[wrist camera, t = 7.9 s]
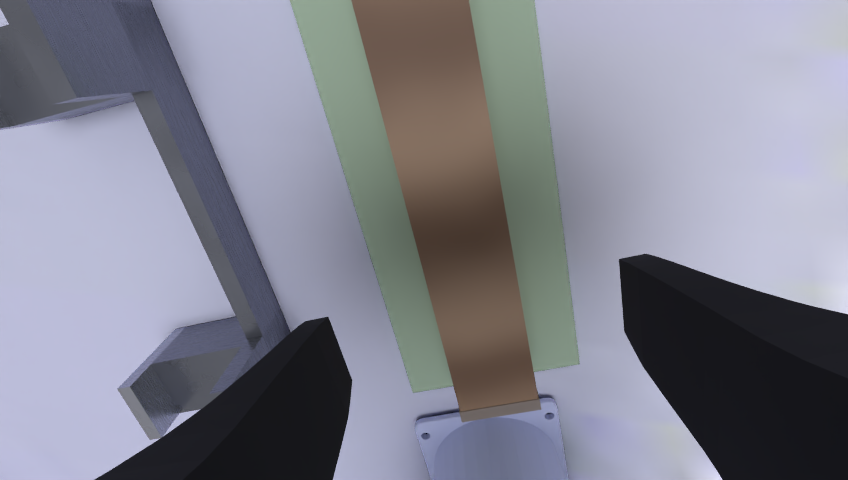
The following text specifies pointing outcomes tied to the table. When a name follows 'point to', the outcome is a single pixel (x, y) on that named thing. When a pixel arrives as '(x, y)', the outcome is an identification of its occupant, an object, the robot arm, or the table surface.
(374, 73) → the rail
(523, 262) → the mat
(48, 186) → the table surface
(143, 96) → the standards
